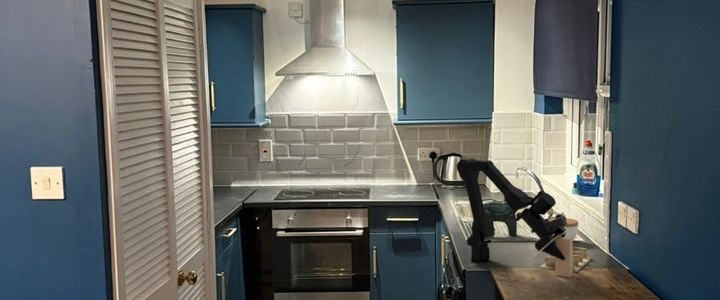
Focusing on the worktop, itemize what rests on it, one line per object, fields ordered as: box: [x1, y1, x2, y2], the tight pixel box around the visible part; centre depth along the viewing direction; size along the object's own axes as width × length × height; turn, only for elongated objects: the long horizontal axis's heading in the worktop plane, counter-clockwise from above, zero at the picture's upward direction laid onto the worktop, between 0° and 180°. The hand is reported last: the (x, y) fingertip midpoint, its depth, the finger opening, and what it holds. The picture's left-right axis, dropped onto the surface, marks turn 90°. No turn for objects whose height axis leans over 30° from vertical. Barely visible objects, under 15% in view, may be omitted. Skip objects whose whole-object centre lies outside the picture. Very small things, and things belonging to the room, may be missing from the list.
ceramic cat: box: [482, 190, 519, 237], centre depth 283 cm, size 20×6×20 cm, turn 85°
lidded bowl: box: [548, 217, 579, 241], centre depth 268 cm, size 13×13×11 cm
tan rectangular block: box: [554, 237, 574, 278], centre depth 220 cm, size 4×5×13 cm
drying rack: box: [539, 246, 593, 273], centre depth 235 cm, size 13×21×4 cm, turn 146°
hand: (568, 256), depth 220 cm, fingers open, 8 cm apart
